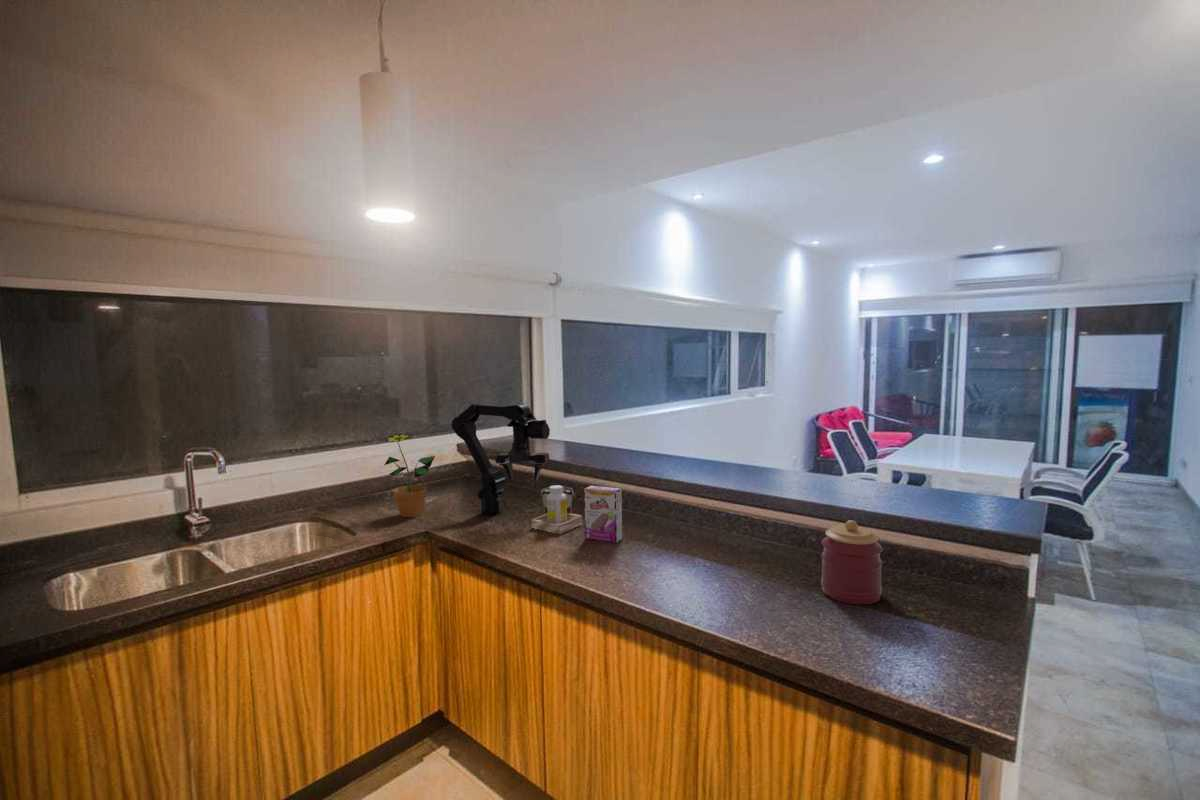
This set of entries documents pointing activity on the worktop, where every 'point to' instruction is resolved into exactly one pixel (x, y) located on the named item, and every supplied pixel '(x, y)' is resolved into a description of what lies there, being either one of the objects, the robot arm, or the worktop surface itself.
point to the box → (544, 525)
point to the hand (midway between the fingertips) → (523, 481)
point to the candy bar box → (603, 514)
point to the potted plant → (410, 495)
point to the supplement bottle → (556, 505)
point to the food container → (566, 491)
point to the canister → (851, 564)
